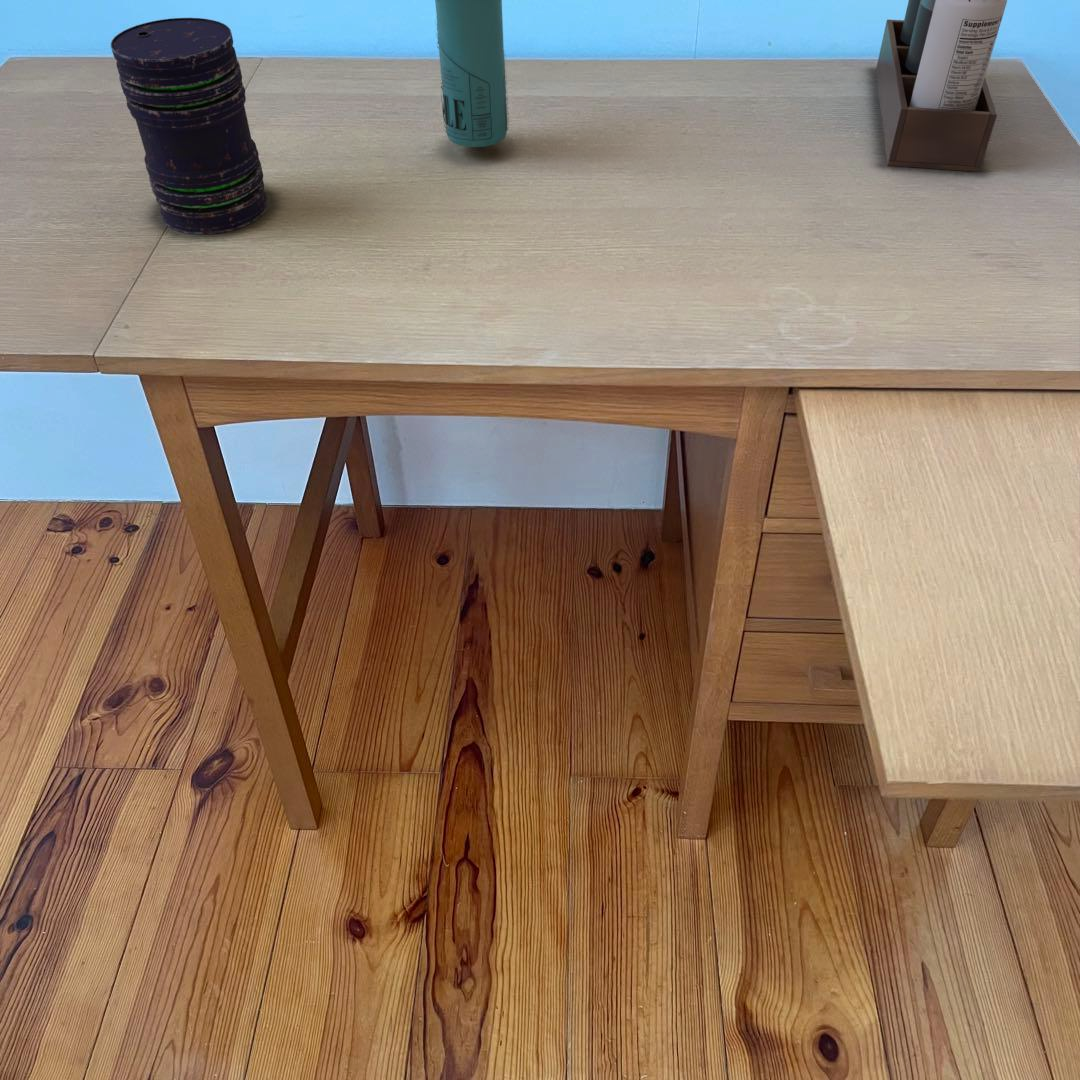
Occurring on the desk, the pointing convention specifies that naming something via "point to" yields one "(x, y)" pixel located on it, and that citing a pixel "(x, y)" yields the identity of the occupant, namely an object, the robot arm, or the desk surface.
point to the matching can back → (909, 22)
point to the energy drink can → (957, 53)
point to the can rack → (927, 118)
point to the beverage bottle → (472, 71)
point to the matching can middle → (919, 37)
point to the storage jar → (192, 123)
